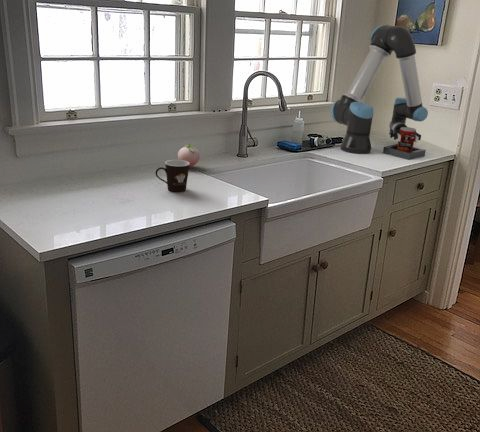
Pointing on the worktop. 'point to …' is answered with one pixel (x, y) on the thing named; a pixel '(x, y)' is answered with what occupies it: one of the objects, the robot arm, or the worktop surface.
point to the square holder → (404, 152)
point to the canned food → (406, 139)
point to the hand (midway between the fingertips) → (408, 139)
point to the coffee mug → (176, 175)
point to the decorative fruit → (189, 155)
